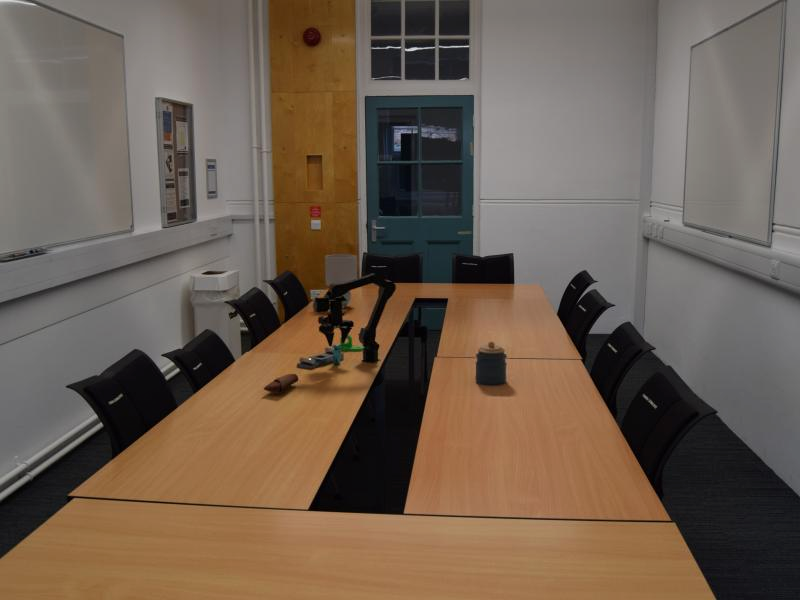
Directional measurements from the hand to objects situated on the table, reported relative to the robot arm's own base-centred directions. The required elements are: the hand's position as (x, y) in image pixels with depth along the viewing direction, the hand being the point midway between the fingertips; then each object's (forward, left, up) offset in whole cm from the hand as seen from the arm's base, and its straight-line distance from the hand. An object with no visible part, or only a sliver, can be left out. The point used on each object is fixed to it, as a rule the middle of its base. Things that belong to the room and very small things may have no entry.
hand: (336, 344), depth 371 cm
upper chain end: (+8, +2, -9) cm, 12 cm away
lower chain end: (+8, +2, -9) cm, 12 cm away
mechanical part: (+13, -27, -10) cm, 31 cm away
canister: (-74, -11, -10) cm, 75 cm away
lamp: (+93, -119, -10) cm, 151 cm away
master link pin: (0, 0, -9) cm, 9 cm away
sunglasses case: (-6, +46, -10) cm, 48 cm away
